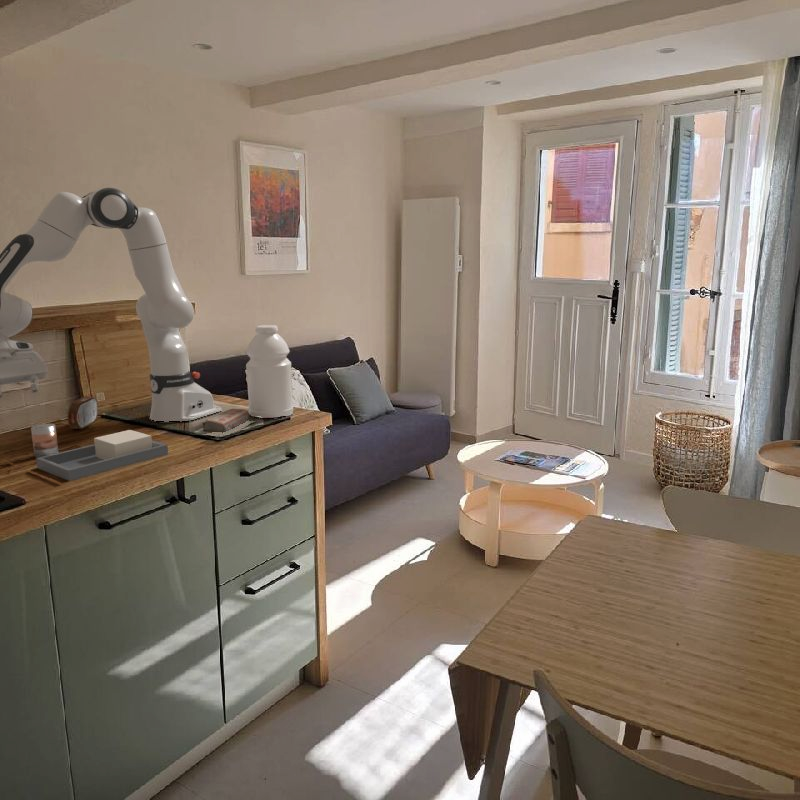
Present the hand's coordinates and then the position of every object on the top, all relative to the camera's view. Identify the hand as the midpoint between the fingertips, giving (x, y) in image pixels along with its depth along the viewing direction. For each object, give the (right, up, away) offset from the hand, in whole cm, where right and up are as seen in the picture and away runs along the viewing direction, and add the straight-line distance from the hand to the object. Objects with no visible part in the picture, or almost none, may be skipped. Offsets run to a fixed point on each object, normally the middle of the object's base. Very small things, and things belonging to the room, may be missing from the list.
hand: (17, 394), depth 192 cm
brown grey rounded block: (+7, -10, +26) cm, 28 cm away
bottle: (+61, -6, +37) cm, 71 cm away
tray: (+28, -17, -11) cm, 34 cm away
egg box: (+31, -16, -7) cm, 36 cm away
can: (+10, -16, -4) cm, 19 cm away
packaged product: (+51, -11, +20) cm, 56 cm away
